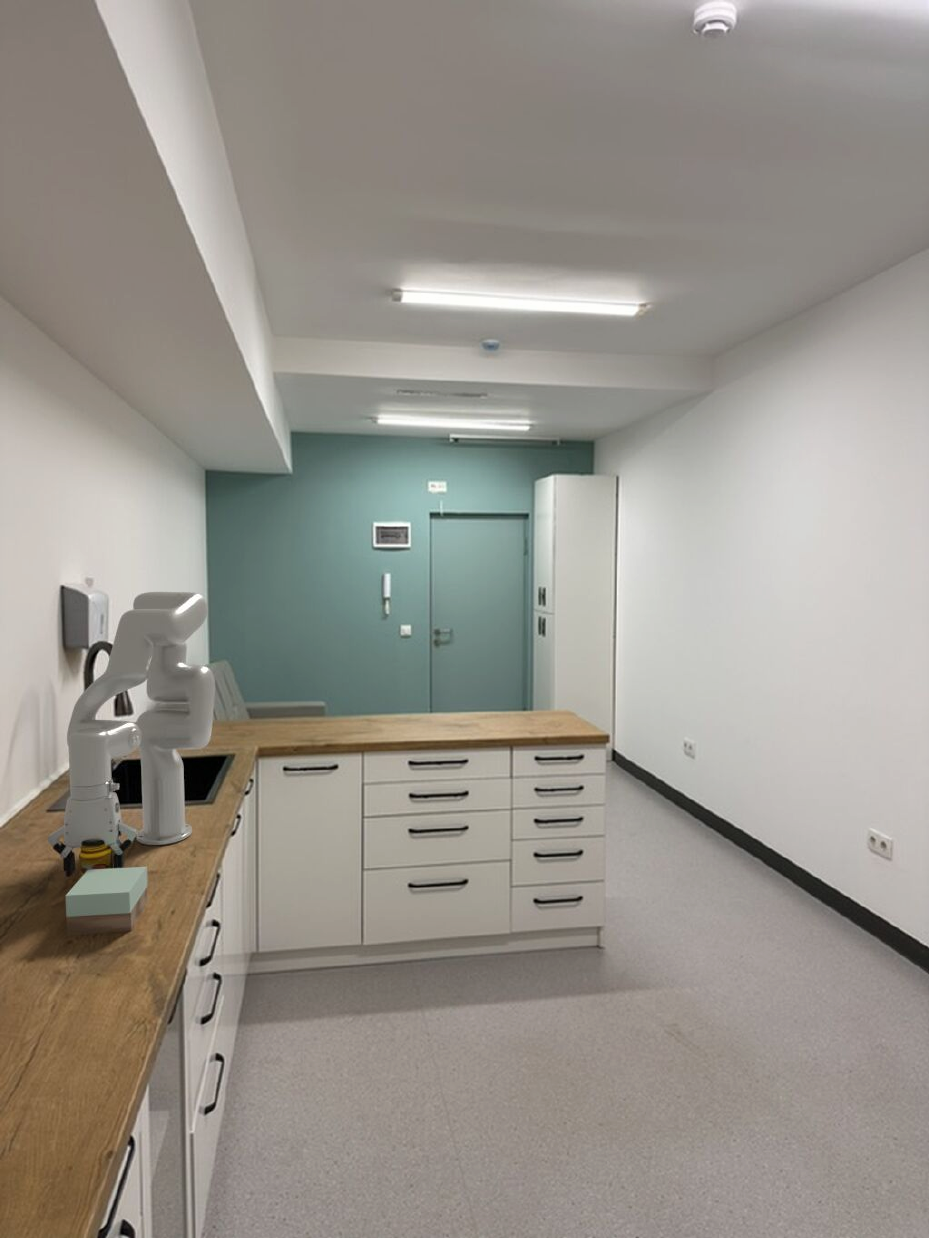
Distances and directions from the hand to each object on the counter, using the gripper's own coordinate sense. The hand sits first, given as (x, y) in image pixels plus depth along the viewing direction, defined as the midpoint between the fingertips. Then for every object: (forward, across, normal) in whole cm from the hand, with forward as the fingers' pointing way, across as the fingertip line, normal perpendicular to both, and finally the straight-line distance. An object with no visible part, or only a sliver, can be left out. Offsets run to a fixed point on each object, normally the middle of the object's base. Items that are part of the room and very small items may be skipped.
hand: (94, 872), depth 149 cm
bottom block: (+5, -6, +12) cm, 14 cm away
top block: (+1, -6, +12) cm, 13 cm away
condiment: (+5, 0, 0) cm, 5 cm away
